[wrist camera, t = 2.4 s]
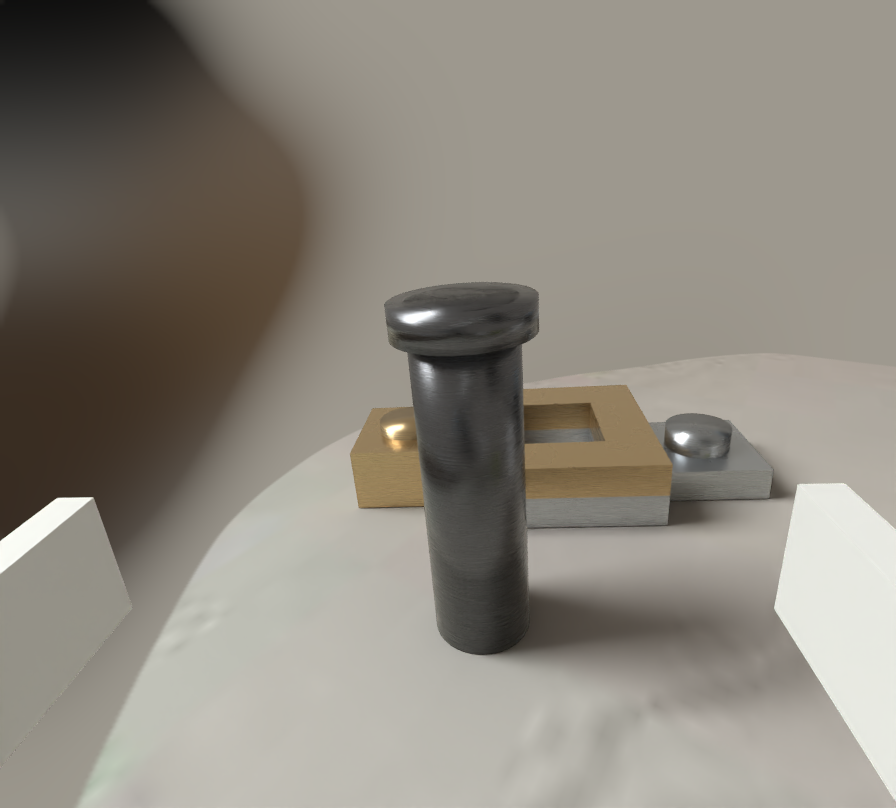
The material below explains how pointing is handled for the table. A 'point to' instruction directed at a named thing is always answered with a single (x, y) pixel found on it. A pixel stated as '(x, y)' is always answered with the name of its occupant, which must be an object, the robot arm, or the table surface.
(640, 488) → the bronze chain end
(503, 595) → the black pin
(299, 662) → the table surface
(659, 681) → the table surface
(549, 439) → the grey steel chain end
